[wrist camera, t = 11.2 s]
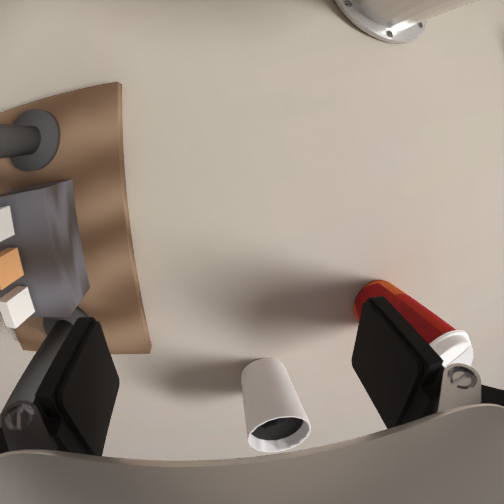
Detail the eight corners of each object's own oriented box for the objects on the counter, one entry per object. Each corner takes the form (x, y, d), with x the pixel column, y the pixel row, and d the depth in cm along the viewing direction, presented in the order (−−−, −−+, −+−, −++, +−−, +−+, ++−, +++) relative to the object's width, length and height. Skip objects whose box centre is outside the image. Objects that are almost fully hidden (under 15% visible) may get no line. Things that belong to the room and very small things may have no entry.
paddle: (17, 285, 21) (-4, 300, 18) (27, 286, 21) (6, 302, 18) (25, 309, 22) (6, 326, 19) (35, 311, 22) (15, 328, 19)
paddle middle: (8, 247, 20) (-16, 260, 17) (17, 247, 20) (-7, 260, 17) (14, 274, 20) (-8, 288, 18) (24, 274, 20) (2, 289, 18)
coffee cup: (344, 337, 37) (401, 421, 23) (344, 279, 34) (418, 358, 20) (399, 320, 37) (466, 388, 23) (404, 264, 34) (487, 325, 20)
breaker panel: (-17, 122, 21) (-59, 123, 14) (121, 84, 24) (96, 66, 17) (27, 343, 31) (4, 378, 24) (151, 345, 33) (142, 390, 26)
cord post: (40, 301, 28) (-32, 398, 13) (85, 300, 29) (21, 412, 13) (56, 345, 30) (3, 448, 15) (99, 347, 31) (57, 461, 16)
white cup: (226, 379, 36) (234, 441, 27) (262, 346, 35) (280, 407, 26) (264, 399, 38) (279, 457, 29) (299, 369, 37) (323, 426, 28)
